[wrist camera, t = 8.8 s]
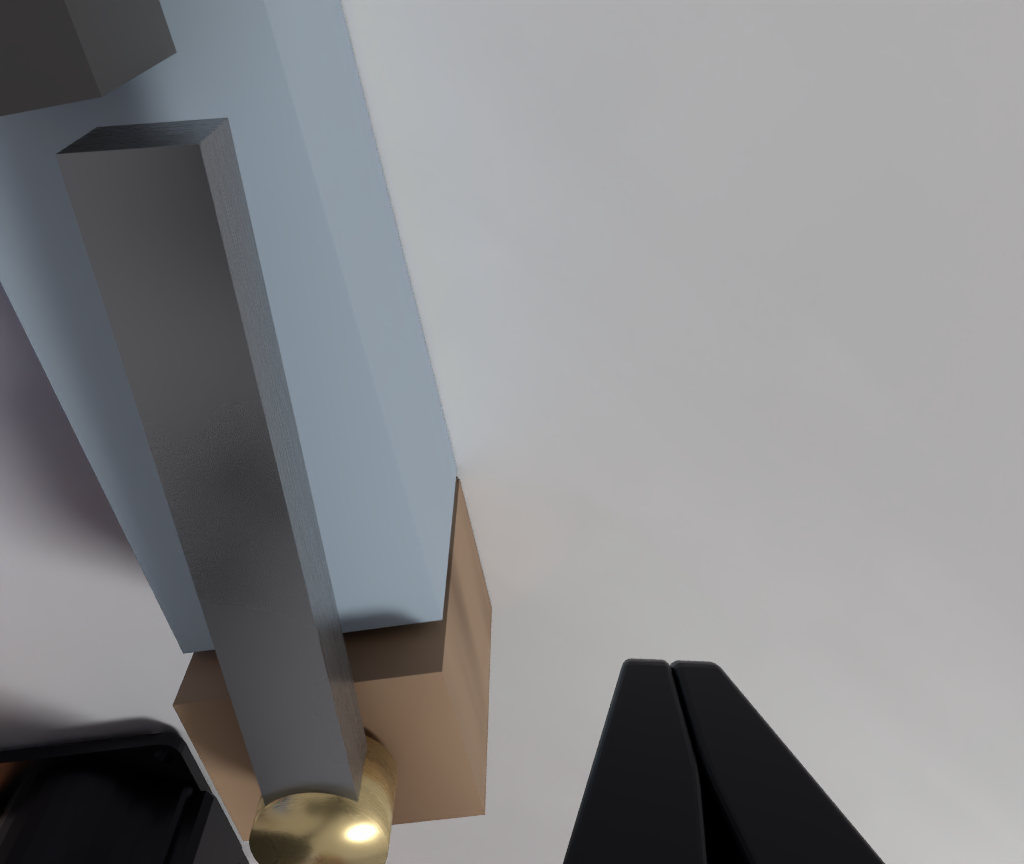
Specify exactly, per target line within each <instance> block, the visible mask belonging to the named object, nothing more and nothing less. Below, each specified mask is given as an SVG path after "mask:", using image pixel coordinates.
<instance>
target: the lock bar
mask: <svg viewBox="0 0 1024 864" xmlns="http://www.w3.org/2000/svg"><path fill="white" fill-rule="evenodd" d="M56 157H57V160H58V163H59V167H60V170H61V173H62V176H63V179H64V182H65V185H66V188H67V191H68V195H69V198H70V201H71V204H72V207H73V210H74V213H75V216H76V219H77V223H78V226H79V229H80V232H81V235H82V238H83V241H84V244H85V247H86V251H87V254H88V257H89V260H90V263H91V266H92V269H93V272H94V275H95V278H96V282H97V285H98V288H99V291H100V294H101V297H102V300H103V303H104V306H105V310H106V313H107V316H108V319H109V322H110V325H111V328H112V331H113V334H114V338H115V341H116V344H117V347H118V350H119V353H120V356H121V359H122V362H123V366H124V369H125V372H126V375H127V378H128V381H129V384H130V387H131V390H132V393H133V397H134V400H135V403H136V406H137V409H138V412H139V415H140V418H141V421H142V425H143V428H144V431H145V434H146V437H147V440H148V443H149V446H150V449H151V453H152V456H153V459H154V462H155V465H156V468H157V471H158V474H159V477H160V481H161V484H162V487H163V490H164V493H165V496H166V499H167V502H168V505H169V509H170V512H171V515H172V518H173V521H174V524H175V527H176V530H177V533H178V536H179V540H180V543H181V546H182V549H183V552H184V555H185V558H186V561H187V564H188V568H189V571H190V574H191V577H192V580H193V583H194V586H195V589H196V592H197V596H198V599H199V602H200V605H201V608H202V611H203V614H204V617H205V620H206V624H207V627H208V630H209V633H210V636H211V639H212V642H213V645H214V648H215V651H216V655H217V658H218V661H219V664H220V667H221V670H222V673H223V676H224V679H225V683H226V686H227V689H228V692H229V695H230V698H231V701H232V704H233V707H234V711H235V714H236V717H237V720H238V723H239V726H240V729H241V732H242V735H243V739H244V742H245V745H246V748H247V751H248V754H249V757H250V760H251V763H252V767H253V770H254V773H255V776H256V779H257V782H258V785H259V788H260V791H261V796H260V799H259V803H258V807H257V810H256V814H255V818H254V821H253V825H252V829H251V832H250V837H249V845H250V849H251V852H252V854H253V856H254V858H255V859H256V861H257V862H258V863H259V864H385V862H386V859H387V856H388V849H389V841H390V833H391V825H392V818H393V810H394V802H395V794H396V786H397V778H398V770H397V765H396V762H395V760H394V758H393V757H392V755H391V754H390V753H389V751H388V750H387V749H386V748H385V747H384V746H382V745H381V744H380V743H379V742H377V741H375V740H374V739H372V738H370V737H368V736H366V735H365V732H364V727H363V723H362V718H361V714H360V709H359V705H358V700H357V696H356V691H355V687H354V682H353V678H352V673H351V669H350V664H349V660H348V655H347V651H346V646H345V642H344V637H343V633H342V628H341V624H340V619H339V615H338V610H337V606H336V601H335V597H334V592H333V588H332V583H331V579H330V574H329V570H328V565H327V561H326V556H325V552H324V547H323V543H322V538H321V534H320V529H319V525H318V520H317V516H316V511H315V507H314V502H313V498H312V493H311V488H310V484H309V479H308V475H307V470H306V466H305V461H304V457H303V452H302V448H301V443H300V439H299V434H298V430H297V425H296V421H295V416H294V412H293V407H292V403H291V398H290V394H289V389H288V385H287V380H286V376H285V371H284V367H283V362H282V358H281V353H280V349H279V344H278V340H277V335H276V331H275V326H274V322H273V317H272V313H271V308H270V304H269V299H268V295H267V290H266V286H265V281H264V277H263V272H262V268H261V263H260V259H259V254H258V250H257V245H256V241H255V236H254V232H253V227H252V223H251V218H250V214H249V209H248V205H247V200H246V196H245V191H244V187H243V182H242V178H241V173H240V169H239V164H238V160H237V155H236V151H235V146H234V142H233V137H232V133H231V128H230V124H229V119H228V117H227V118H214V119H200V120H186V121H172V122H158V123H145V124H131V125H117V126H103V127H96V128H95V129H93V130H92V131H90V132H89V133H87V134H86V135H84V136H82V137H81V138H79V139H78V140H76V141H75V142H73V143H72V144H70V145H69V146H67V147H66V148H64V149H63V150H61V151H60V152H58V153H57V154H56Z"/></svg>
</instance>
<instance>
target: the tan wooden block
mask: <svg viewBox="0 0 1024 864" xmlns="http://www.w3.org/2000/svg"><path fill="white" fill-rule="evenodd" d="M491 617H492V607H491V603H490V599H489V595H488V591H487V587H486V583H485V579H484V575H483V571H482V567H481V563H480V559H479V555H478V551H477V547H476V543H475V539H474V535H473V531H472V527H471V523H470V519H469V515H468V511H467V507H466V503H465V499H464V495H463V491H462V487H461V483H460V479H457V480H456V483H455V494H454V504H453V514H452V525H451V535H450V545H449V556H448V566H447V576H446V587H445V597H444V607H443V618H442V620H437V621H429V622H422V623H414V624H406V625H399V626H391V627H383V628H376V629H368V630H360V631H353V632H345V633H343V637H344V642H345V646H346V651H347V655H348V660H349V664H350V669H351V673H352V678H353V682H354V687H355V691H356V696H357V700H358V705H359V709H360V714H361V718H362V723H363V727H364V732H365V735H366V736H368V737H370V738H372V739H374V740H375V741H377V742H379V743H380V744H381V745H382V746H384V747H385V748H386V749H387V750H388V751H389V753H390V754H391V755H392V757H393V758H394V760H395V762H396V765H397V770H398V778H397V786H396V794H395V802H394V810H393V818H392V825H395V824H404V823H413V822H422V821H431V820H440V819H449V818H458V817H467V816H477V815H485V799H486V768H487V738H488V708H489V677H490V647H491ZM173 707H174V709H175V711H176V713H177V714H178V716H179V718H180V720H181V722H182V724H183V726H184V728H185V730H186V732H187V734H188V736H189V737H190V739H191V741H192V743H193V745H194V747H195V749H196V751H197V753H198V755H199V757H200V759H201V761H202V762H203V764H204V766H205V768H206V770H207V772H208V774H209V776H210V778H211V780H212V782H213V784H214V786H215V787H216V789H217V791H218V793H219V795H220V797H221V799H222V801H223V803H224V805H225V807H226V809H227V810H228V812H229V814H230V816H231V818H232V820H233V822H234V824H235V826H236V828H237V830H238V832H239V834H240V835H241V837H242V839H243V841H249V837H250V832H251V829H252V825H253V821H254V818H255V814H256V810H257V807H258V803H259V799H260V796H261V791H260V788H259V785H258V782H257V779H256V776H255V773H254V770H253V767H252V763H251V760H250V757H249V754H248V751H247V748H246V745H245V742H244V739H243V735H242V732H241V729H240V726H239V723H238V720H237V717H236V714H235V711H234V707H233V704H232V701H231V698H230V695H229V692H228V689H227V686H226V683H225V679H224V676H223V673H222V670H221V667H220V664H219V661H218V658H217V655H216V651H215V650H207V651H199V652H194V654H193V656H192V659H191V661H190V664H189V666H188V669H187V671H186V674H185V676H184V679H183V681H182V684H181V686H180V689H179V691H178V693H177V696H176V698H175V701H174V703H173Z"/></svg>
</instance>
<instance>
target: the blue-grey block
mask: <svg viewBox="0 0 1024 864" xmlns="http://www.w3.org/2000/svg"><path fill="white" fill-rule="evenodd" d="M227 117H228V119H229V124H230V128H231V133H232V137H233V142H234V146H235V151H236V155H237V160H238V164H239V169H240V173H241V178H242V182H243V187H244V191H245V196H246V200H247V205H248V209H249V214H250V218H251V223H252V227H253V232H254V236H255V241H256V245H257V250H258V254H259V259H260V263H261V268H262V272H263V277H264V281H265V286H266V290H267V295H268V299H269V304H270V308H271V313H272V317H273V322H274V326H275V331H276V335H277V340H278V344H279V349H280V353H281V358H282V362H283V367H284V371H285V376H286V380H287V385H288V389H289V394H290V398H291V403H292V407H293V412H294V416H295V421H296V425H297V430H298V434H299V439H300V443H301V448H302V452H303V457H304V461H305V466H306V470H307V475H308V479H309V484H310V488H311V493H312V498H313V502H314V507H315V511H316V516H317V520H318V525H319V529H320V534H321V538H322V543H323V547H324V552H325V556H326V561H327V565H328V570H329V574H330V579H331V583H332V588H333V592H334V597H335V601H336V606H337V610H338V615H339V619H340V624H341V628H342V633H345V632H353V631H360V630H368V629H376V628H383V627H391V626H399V625H406V624H414V623H422V622H429V621H437V620H442V618H443V607H444V597H445V587H446V576H447V566H448V556H449V545H450V535H451V525H452V514H453V504H454V494H455V483H456V473H457V467H456V463H455V459H454V455H453V451H452V447H451V443H450V439H449V434H448V430H447V426H446V422H445V418H444V414H443V410H442V406H441V402H440V398H439V394H438V390H437V386H436V382H435V378H434V374H433V370H432V366H431V362H430V358H429V354H428V350H427V346H426V342H425V338H424V334H423V330H422V326H421V322H420V318H419V314H418V310H417V306H416V302H415V298H414V294H413V290H412V286H411V282H410V278H409V274H408V270H407V266H406V262H405V258H404V254H403V250H402V246H401V242H400V238H399V234H398V230H397V226H396V222H395V218H394V214H393V210H392V206H391V202H390V198H389V194H388V190H387V186H386V182H385V178H384V174H383V170H382V166H381V162H380V158H379V154H378V150H377V146H376V142H375V138H374V134H373V130H372V126H371V122H370V118H369V114H368V110H367V106H366V102H365V98H364V94H363V90H362V86H361V82H360V78H359V74H358V70H357V66H356V62H355V58H354V54H353V50H352V46H351V42H350V38H349V34H348V30H347V26H346V22H345V18H344V14H343V10H342V6H341V2H340V0H0V282H1V284H2V286H3V288H4V290H5V292H6V294H7V296H8V298H9V300H10V302H11V304H12V306H13V308H14V310H15V312H16V314H17V316H18V318H19V320H20V322H21V325H22V327H23V329H24V331H25V333H26V335H27V337H28V339H29V341H30V343H31V345H32V347H33V349H34V351H35V353H36V355H37V357H38V359H39V361H40V363H41V365H42V367H43V369H44V371H45V373H46V375H47V377H48V379H49V381H50V383H51V385H52V388H53V390H54V392H55V394H56V396H57V398H58V400H59V402H60V404H61V406H62V408H63V410H64V412H65V414H66V416H67V418H68V420H69V422H70V424H71V426H72V428H73V430H74V432H75V434H76V436H77V438H78V440H79V442H80V444H81V446H82V448H83V450H84V453H85V455H86V457H87V459H88V461H89V463H90V465H91V467H92V469H93V471H94V473H95V475H96V477H97V479H98V481H99V483H100V485H101V487H102V489H103V491H104V493H105V495H106V497H107V499H108V501H109V503H110V505H111V507H112V509H113V511H114V513H115V516H116V518H117V520H118V522H119V524H120V526H121V528H122V530H123V532H124V534H125V536H126V538H127V540H128V542H129V544H130V546H131V548H132V550H133V552H134V554H135V556H136V558H137V560H138V562H139V564H140V566H141V568H142V570H143V572H144V574H145V576H146V578H147V581H148V583H149V585H150V587H151V589H152V591H153V593H154V595H155V597H156V599H157V601H158V603H159V605H160V607H161V609H162V611H163V613H164V615H165V617H166V619H167V621H168V623H169V625H170V627H171V629H172V631H173V633H174V635H175V637H176V639H177V641H178V644H179V646H180V648H181V650H182V652H183V654H184V653H192V652H199V651H207V650H215V648H214V645H213V642H212V639H211V636H210V633H209V630H208V627H207V624H206V620H205V617H204V614H203V611H202V608H201V605H200V602H199V599H198V596H197V592H196V589H195V586H194V583H193V580H192V577H191V574H190V571H189V568H188V564H187V561H186V558H185V555H184V552H183V549H182V546H181V543H180V540H179V536H178V533H177V530H176V527H175V524H174V521H173V518H172V515H171V512H170V509H169V505H168V502H167V499H166V496H165V493H164V490H163V487H162V484H161V481H160V477H159V474H158V471H157V468H156V465H155V462H154V459H153V456H152V453H151V449H150V446H149V443H148V440H147V437H146V434H145V431H144V428H143V425H142V421H141V418H140V415H139V412H138V409H137V406H136V403H135V400H134V397H133V393H132V390H131V387H130V384H129V381H128V378H127V375H126V372H125V369H124V366H123V362H122V359H121V356H120V353H119V350H118V347H117V344H116V341H115V338H114V334H113V331H112V328H111V325H110V322H109V319H108V316H107V313H106V310H105V306H104V303H103V300H102V297H101V294H100V291H99V288H98V285H97V282H96V278H95V275H94V272H93V269H92V266H91V263H90V260H89V257H88V254H87V251H86V247H85V244H84V241H83V238H82V235H81V232H80V229H79V226H78V223H77V219H76V216H75V213H74V210H73V207H72V204H71V201H70V198H69V195H68V191H67V188H66V185H65V182H64V179H63V176H62V173H61V170H60V167H59V163H58V160H57V157H56V154H57V153H58V152H60V151H61V150H63V149H64V148H66V147H67V146H69V145H70V144H72V143H73V142H75V141H76V140H78V139H79V138H81V137H82V136H84V135H86V134H87V133H89V132H90V131H92V130H93V129H95V128H96V127H103V126H117V125H131V124H145V123H158V122H172V121H186V120H200V119H214V118H227Z"/></svg>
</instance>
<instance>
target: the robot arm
mask: <svg viewBox="0 0 1024 864" xmlns="http://www.w3.org/2000/svg"><path fill="white" fill-rule="evenodd" d="M0 864H249V862H248V860H247V858H246V856H245V854H244V852H243V851H242V846H241V844H240V842H239V840H238V838H237V836H236V834H235V832H234V830H233V829H232V827H231V825H230V823H229V821H228V819H227V817H226V815H225V813H224V811H223V810H222V808H221V806H220V804H219V802H218V800H217V798H216V797H215V796H214V795H213V793H212V792H211V790H210V788H209V786H208V784H207V782H206V780H205V778H204V776H203V774H202V773H201V771H200V769H199V767H198V765H197V763H196V761H195V759H194V757H193V755H192V754H191V752H190V750H189V748H188V746H187V744H186V742H185V741H184V740H183V739H182V738H181V737H179V736H177V735H175V734H172V733H156V734H148V735H140V736H131V737H123V738H115V739H107V740H99V741H91V742H82V743H74V744H66V745H58V746H50V747H41V748H33V749H25V750H17V751H9V752H1V753H0ZM563 864H885V863H884V862H883V861H882V860H881V858H880V857H879V856H878V855H877V854H876V852H875V851H874V850H873V849H872V848H871V846H870V845H869V844H868V843H867V842H866V840H865V839H864V838H863V837H862V836H861V835H860V833H859V832H858V831H857V830H856V829H855V827H854V826H853V825H852V824H851V823H850V821H849V820H848V819H847V818H846V817H845V815H844V814H843V813H842V812H841V811H840V809H839V808H838V807H837V806H836V805H835V803H834V802H833V801H832V800H831V799H830V798H829V796H828V795H827V794H826V793H825V792H824V790H823V789H822V788H821V787H820V786H819V784H818V783H817V782H816V781H815V780H814V778H813V777H812V776H811V775H810V774H809V772H808V771H807V770H806V769H805V768H804V766H803V765H802V764H801V763H800V762H799V761H798V759H797V758H796V757H795V756H794V755H793V753H792V752H791V751H790V750H789V749H788V747H787V746H786V745H785V744H784V743H783V741H782V740H781V739H780V738H779V737H778V735H777V734H776V733H775V732H774V731H773V729H772V728H771V727H770V726H769V725H768V723H767V722H766V721H765V720H764V719H763V718H762V716H761V715H760V714H759V713H758V712H757V710H756V709H755V708H754V707H753V706H752V704H751V703H750V702H749V701H748V700H747V698H746V697H745V696H744V695H743V694H742V692H741V691H740V690H739V689H738V688H737V686H736V685H735V684H734V683H733V682H732V681H731V679H730V678H729V677H728V676H727V675H726V673H725V672H724V671H723V670H722V669H721V668H720V667H719V666H718V665H716V664H715V663H713V662H704V661H680V660H678V661H675V662H673V663H671V665H669V664H668V663H667V662H666V661H664V660H656V659H627V660H625V662H624V663H623V665H622V668H621V671H620V674H619V678H618V681H617V684H616V688H615V691H614V694H613V698H612V701H611V704H610V708H609V711H608V715H607V718H606V721H605V725H604V728H603V731H602V735H601V738H600V741H599V745H598V748H597V751H596V755H595V758H594V761H593V765H592V768H591V771H590V775H589V778H588V781H587V785H586V788H585V791H584V795H583V798H582V802H581V805H580V808H579V812H578V815H577V818H576V822H575V825H574V828H573V832H572V835H571V838H570V842H569V845H568V848H567V852H566V855H565V858H564V862H563Z"/></svg>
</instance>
